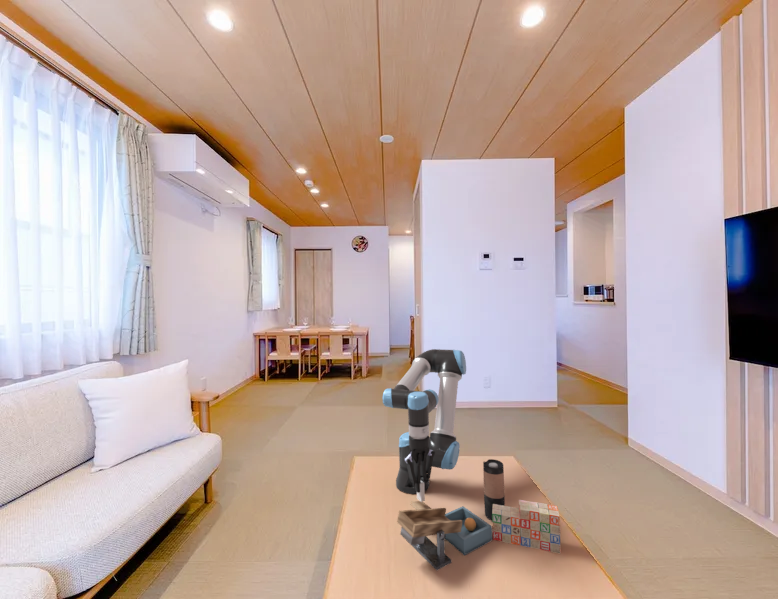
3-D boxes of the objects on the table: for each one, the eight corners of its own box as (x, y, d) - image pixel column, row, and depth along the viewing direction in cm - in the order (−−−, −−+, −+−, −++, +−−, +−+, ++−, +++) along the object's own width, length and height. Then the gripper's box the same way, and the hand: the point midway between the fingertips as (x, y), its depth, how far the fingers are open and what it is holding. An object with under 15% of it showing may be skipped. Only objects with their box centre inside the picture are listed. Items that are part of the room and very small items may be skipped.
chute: (411, 548, 103) (415, 525, 104) (379, 515, 120) (382, 495, 121) (459, 541, 113) (462, 521, 114) (423, 512, 130) (426, 494, 131)
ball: (460, 520, 122) (468, 513, 124) (464, 529, 123) (471, 522, 125) (468, 526, 119) (476, 518, 121) (472, 536, 119) (479, 528, 121)
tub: (464, 555, 111) (463, 540, 111) (436, 531, 123) (436, 517, 123) (492, 540, 118) (491, 525, 118) (463, 519, 129) (463, 506, 130)
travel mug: (506, 523, 127) (504, 468, 127) (485, 521, 128) (483, 467, 129) (503, 511, 134) (502, 459, 135) (483, 509, 136) (482, 458, 136)
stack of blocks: (492, 540, 118) (491, 504, 118) (493, 529, 124) (492, 494, 124) (561, 554, 111) (559, 515, 111) (558, 541, 117) (557, 505, 117)
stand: (436, 570, 105) (435, 537, 105) (410, 544, 117) (409, 514, 117) (451, 562, 108) (450, 530, 108) (424, 537, 120) (423, 508, 120)
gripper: (410, 443, 119) (412, 510, 119) (439, 434, 126) (441, 498, 126) (398, 436, 126) (400, 500, 126) (426, 428, 133) (428, 489, 132)
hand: (420, 499), depth 126 cm, fingers closed
